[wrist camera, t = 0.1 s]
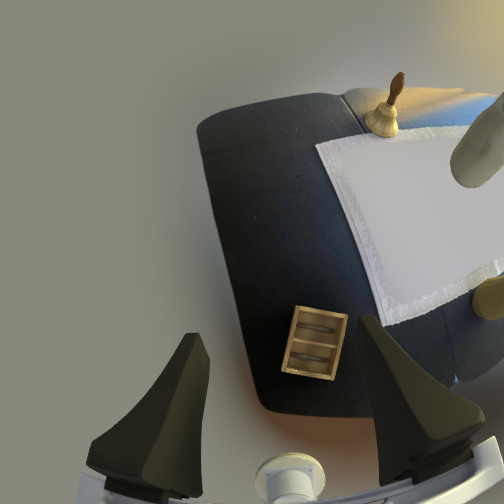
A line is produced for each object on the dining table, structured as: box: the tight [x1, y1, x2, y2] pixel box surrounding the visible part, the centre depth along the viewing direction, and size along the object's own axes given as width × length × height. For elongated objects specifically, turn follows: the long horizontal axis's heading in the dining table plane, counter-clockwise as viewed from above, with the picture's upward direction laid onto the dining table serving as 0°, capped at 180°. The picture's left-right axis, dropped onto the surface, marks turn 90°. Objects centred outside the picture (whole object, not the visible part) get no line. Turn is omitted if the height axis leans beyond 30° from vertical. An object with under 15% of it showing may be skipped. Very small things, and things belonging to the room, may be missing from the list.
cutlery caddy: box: [281, 305, 348, 380], centre depth 40 cm, size 8×10×4 cm
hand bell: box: [365, 72, 405, 138], centre depth 46 cm, size 8×8×16 cm
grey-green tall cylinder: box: [450, 92, 504, 188], centre depth 35 cm, size 10×10×28 cm
